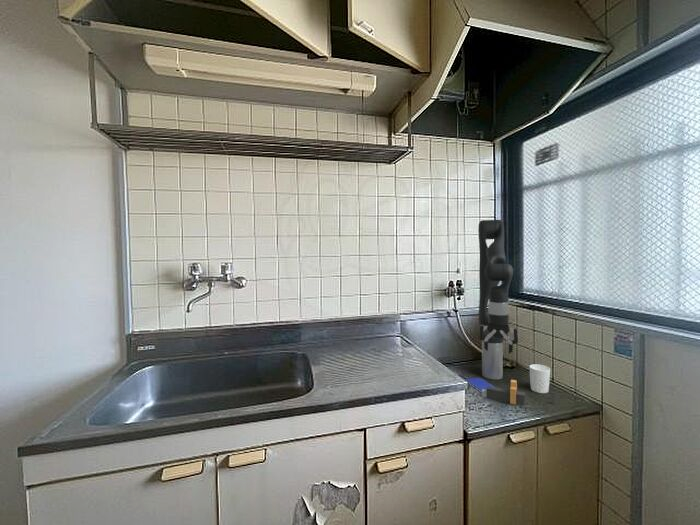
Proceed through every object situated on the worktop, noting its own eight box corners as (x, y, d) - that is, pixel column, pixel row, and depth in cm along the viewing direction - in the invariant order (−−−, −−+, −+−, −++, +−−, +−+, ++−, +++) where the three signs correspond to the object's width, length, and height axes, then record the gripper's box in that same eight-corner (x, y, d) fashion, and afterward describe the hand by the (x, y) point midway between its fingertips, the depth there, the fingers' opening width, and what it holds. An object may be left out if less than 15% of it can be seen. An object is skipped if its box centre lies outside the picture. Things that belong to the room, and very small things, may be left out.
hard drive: (498, 388, 146) (480, 377, 158) (481, 390, 144) (465, 379, 156) (498, 391, 146) (480, 380, 158) (481, 393, 144) (465, 382, 156)
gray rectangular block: (482, 394, 142) (482, 385, 142) (524, 402, 134) (524, 392, 134) (481, 397, 140) (481, 387, 140) (524, 405, 132) (524, 395, 131)
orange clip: (511, 397, 138) (511, 377, 138) (516, 398, 137) (517, 378, 137) (510, 403, 133) (510, 383, 132) (515, 404, 132) (515, 384, 131)
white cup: (553, 391, 144) (554, 368, 143) (543, 395, 140) (544, 372, 139) (535, 384, 151) (535, 363, 150) (525, 389, 146) (525, 366, 146)
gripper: (518, 312, 136) (517, 351, 137) (480, 309, 142) (480, 346, 143) (517, 315, 129) (517, 356, 130) (478, 312, 136) (478, 351, 137)
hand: (498, 351), depth 137 cm, fingers open, 8 cm apart
